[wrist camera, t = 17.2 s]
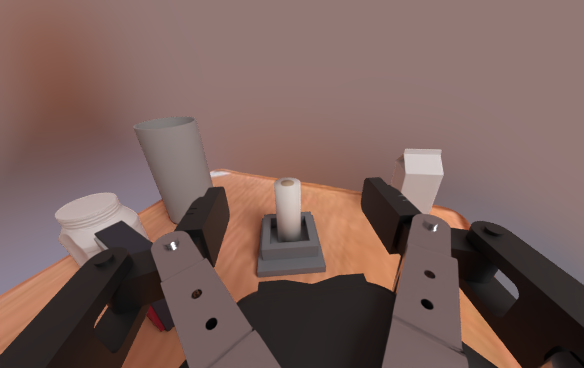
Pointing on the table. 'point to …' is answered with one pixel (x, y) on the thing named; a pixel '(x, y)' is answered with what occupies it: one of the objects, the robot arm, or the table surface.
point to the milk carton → (418, 176)
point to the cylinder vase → (175, 161)
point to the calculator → (134, 243)
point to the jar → (92, 223)
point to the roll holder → (289, 249)
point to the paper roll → (288, 209)
